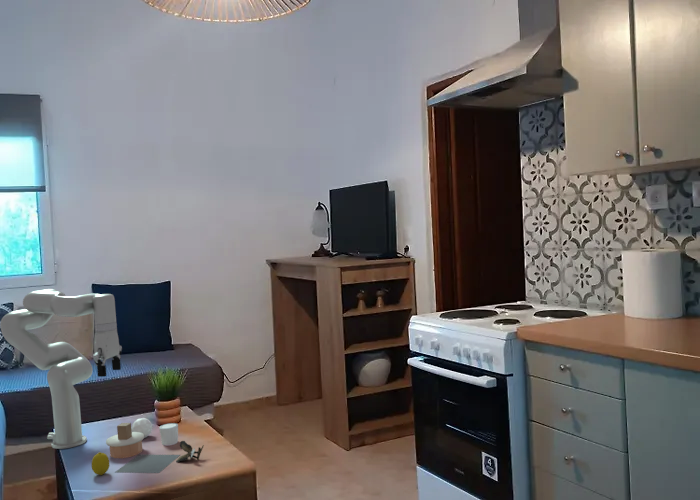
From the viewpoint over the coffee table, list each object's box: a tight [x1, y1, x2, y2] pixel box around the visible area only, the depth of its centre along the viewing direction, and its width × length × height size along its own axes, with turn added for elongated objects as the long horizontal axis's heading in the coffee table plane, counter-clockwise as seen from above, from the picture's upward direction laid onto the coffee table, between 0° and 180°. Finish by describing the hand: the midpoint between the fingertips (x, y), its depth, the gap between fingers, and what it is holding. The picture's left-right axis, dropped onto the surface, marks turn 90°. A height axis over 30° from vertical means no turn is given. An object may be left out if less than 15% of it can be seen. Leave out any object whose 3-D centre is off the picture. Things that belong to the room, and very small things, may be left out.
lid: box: [105, 422, 145, 447], centre depth 231 cm, size 13×13×6 cm
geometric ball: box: [131, 417, 153, 439], centre depth 249 cm, size 8×8×8 cm
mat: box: [114, 454, 181, 474], centre depth 219 cm, size 16×16×1 cm
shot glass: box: [158, 422, 179, 446], centre depth 239 cm, size 7×7×7 cm
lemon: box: [91, 451, 110, 476], centre depth 211 cm, size 6×6×8 cm
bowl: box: [109, 440, 143, 459], centre depth 231 cm, size 11×11×5 cm
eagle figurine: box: [175, 440, 205, 463], centre depth 220 cm, size 8×7×9 cm
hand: (109, 373), depth 238 cm, fingers open, 9 cm apart
